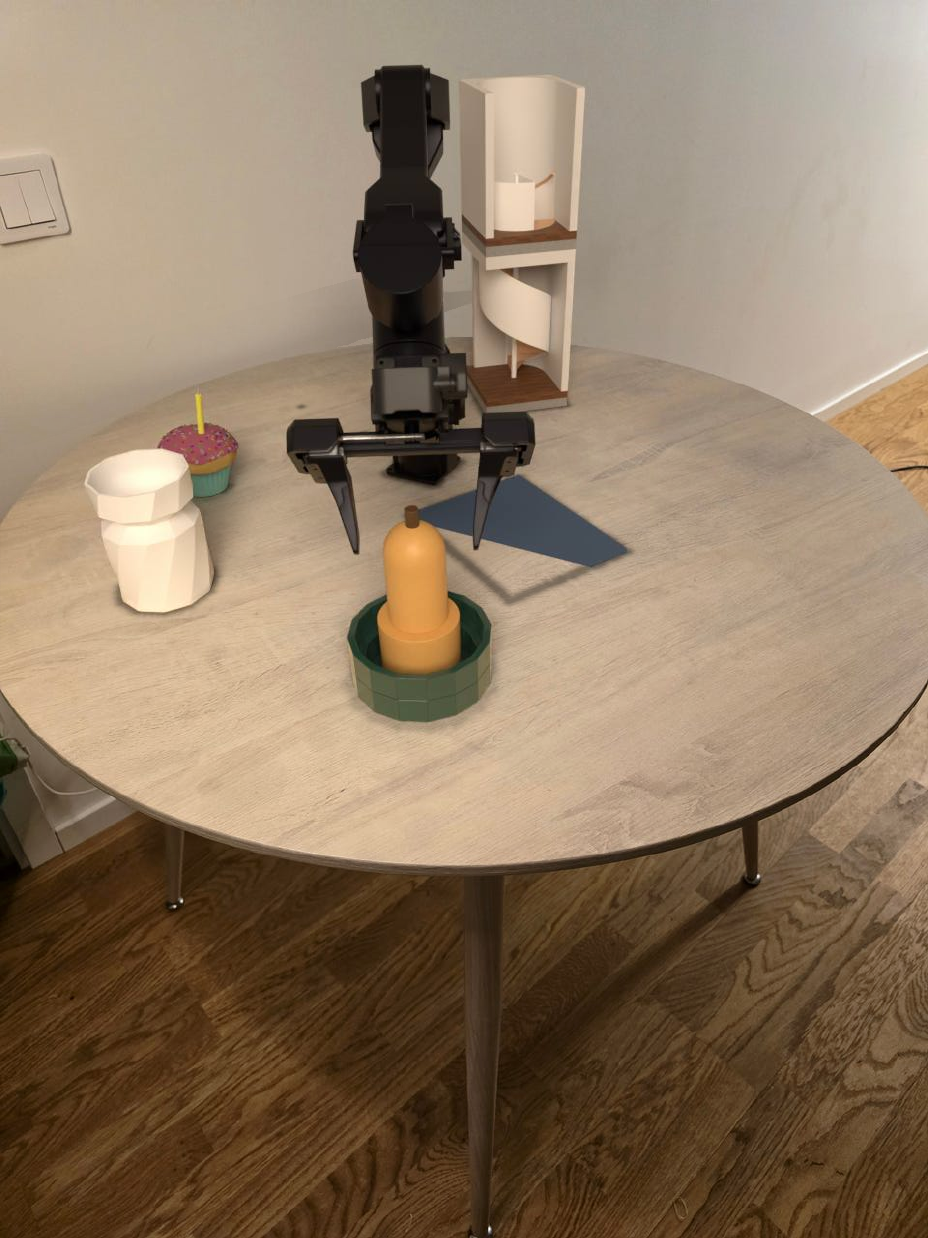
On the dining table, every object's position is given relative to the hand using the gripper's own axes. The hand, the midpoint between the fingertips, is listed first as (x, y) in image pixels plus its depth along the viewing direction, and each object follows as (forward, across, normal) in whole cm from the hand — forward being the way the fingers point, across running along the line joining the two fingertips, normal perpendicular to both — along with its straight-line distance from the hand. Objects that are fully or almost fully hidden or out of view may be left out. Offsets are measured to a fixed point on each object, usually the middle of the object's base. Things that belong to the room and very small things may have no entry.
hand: (416, 551), depth 66 cm
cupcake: (-14, -24, +29) cm, 40 cm away
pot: (+9, 0, +6) cm, 11 cm away
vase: (-1, -24, +16) cm, 29 cm away
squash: (+9, 0, +5) cm, 10 cm away
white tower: (-30, +12, +44) cm, 55 cm away
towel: (-6, +9, +20) cm, 23 cm away
